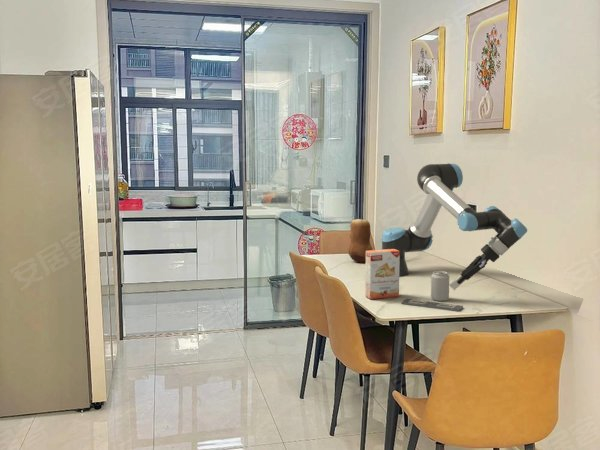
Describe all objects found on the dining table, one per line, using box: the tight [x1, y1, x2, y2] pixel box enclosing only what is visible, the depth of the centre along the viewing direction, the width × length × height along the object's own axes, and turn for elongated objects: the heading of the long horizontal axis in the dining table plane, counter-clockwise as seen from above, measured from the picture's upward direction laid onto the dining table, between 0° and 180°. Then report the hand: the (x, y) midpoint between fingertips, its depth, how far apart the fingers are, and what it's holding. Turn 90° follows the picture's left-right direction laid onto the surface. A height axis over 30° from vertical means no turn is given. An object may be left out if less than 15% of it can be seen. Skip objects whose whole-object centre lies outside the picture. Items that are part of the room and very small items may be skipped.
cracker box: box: [365, 249, 400, 300], centre depth 244 cm, size 14×6×21 cm, turn 106°
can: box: [430, 270, 450, 302], centre depth 239 cm, size 8×8×12 cm
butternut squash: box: [348, 218, 374, 264], centre depth 320 cm, size 14×13×25 cm
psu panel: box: [401, 298, 464, 313], centre depth 230 cm, size 6×24×1 cm, turn 58°
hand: (452, 287), depth 238 cm, fingers closed
